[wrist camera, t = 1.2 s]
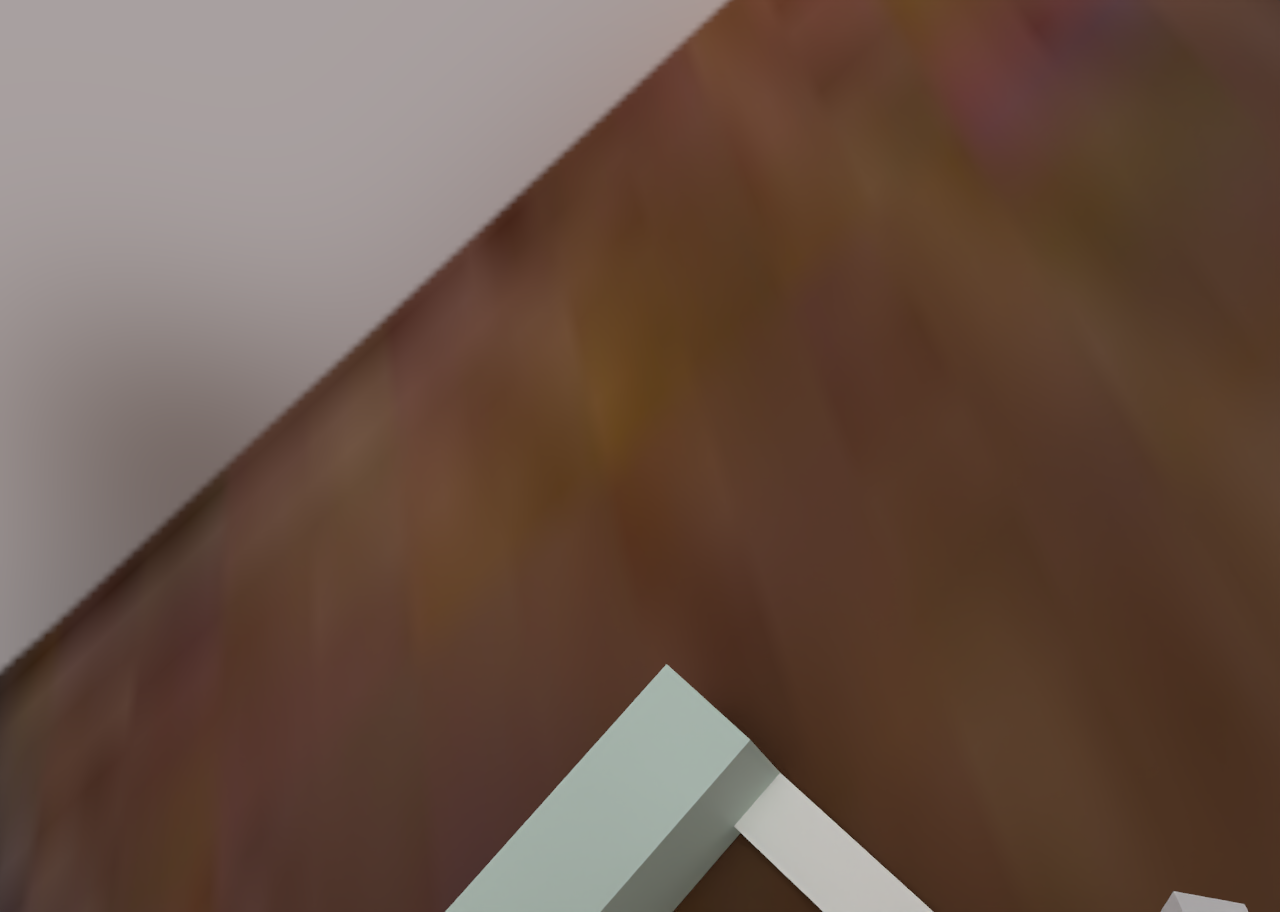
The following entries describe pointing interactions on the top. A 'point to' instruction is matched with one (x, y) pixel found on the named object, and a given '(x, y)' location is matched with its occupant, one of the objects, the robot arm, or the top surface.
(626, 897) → the guide track
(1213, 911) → the robot arm
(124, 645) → the top surface
